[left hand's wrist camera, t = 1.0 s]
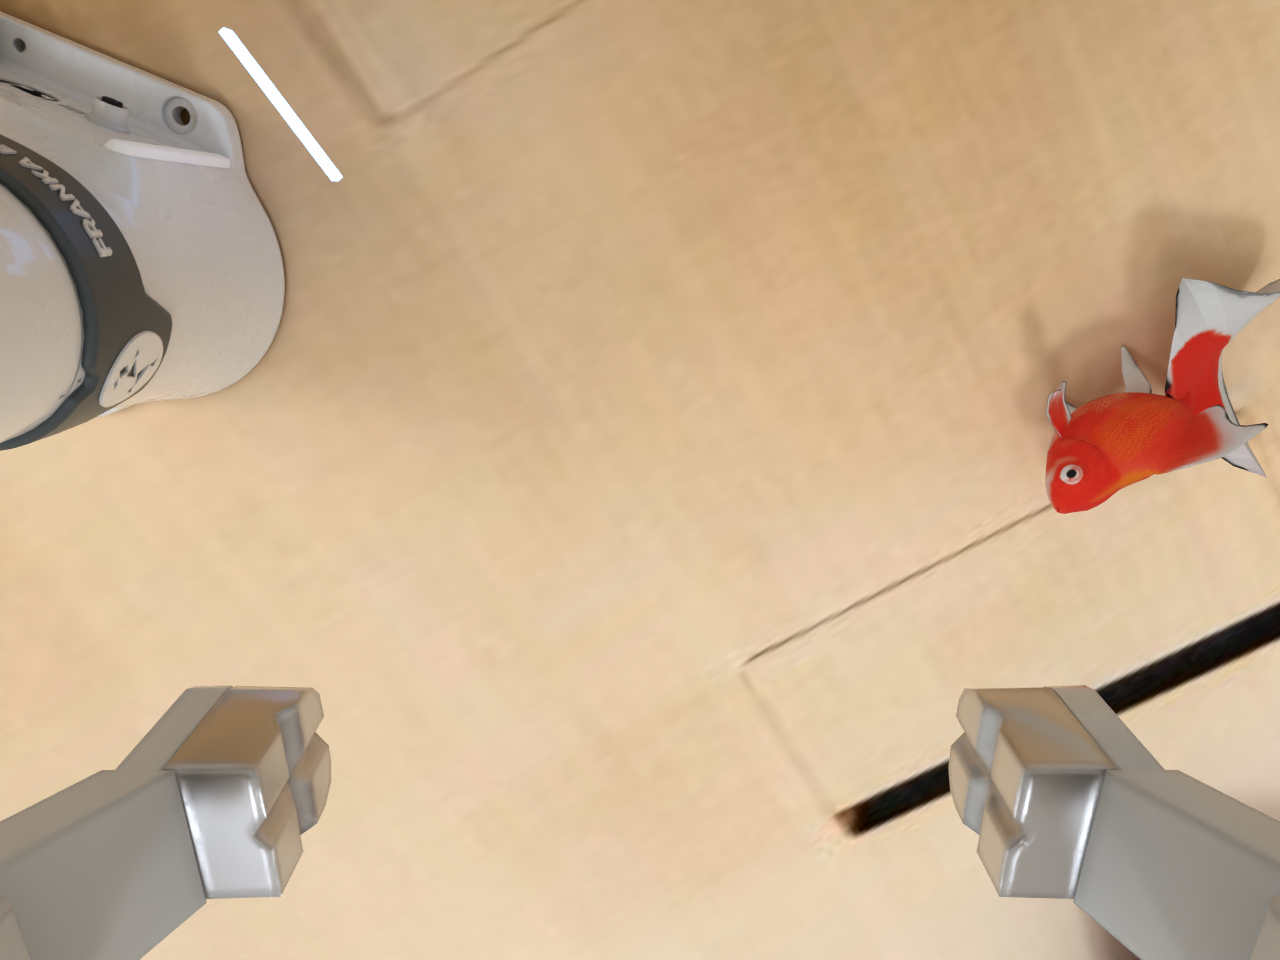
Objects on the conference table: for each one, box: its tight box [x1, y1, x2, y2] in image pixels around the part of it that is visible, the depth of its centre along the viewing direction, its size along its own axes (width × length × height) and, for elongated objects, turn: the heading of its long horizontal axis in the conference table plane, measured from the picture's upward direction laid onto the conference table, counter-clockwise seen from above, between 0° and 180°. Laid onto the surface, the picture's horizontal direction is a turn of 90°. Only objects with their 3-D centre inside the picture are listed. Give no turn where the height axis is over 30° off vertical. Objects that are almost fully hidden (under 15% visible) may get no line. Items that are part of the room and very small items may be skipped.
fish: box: [1046, 278, 1280, 514], centre depth 41 cm, size 11×16×10 cm
